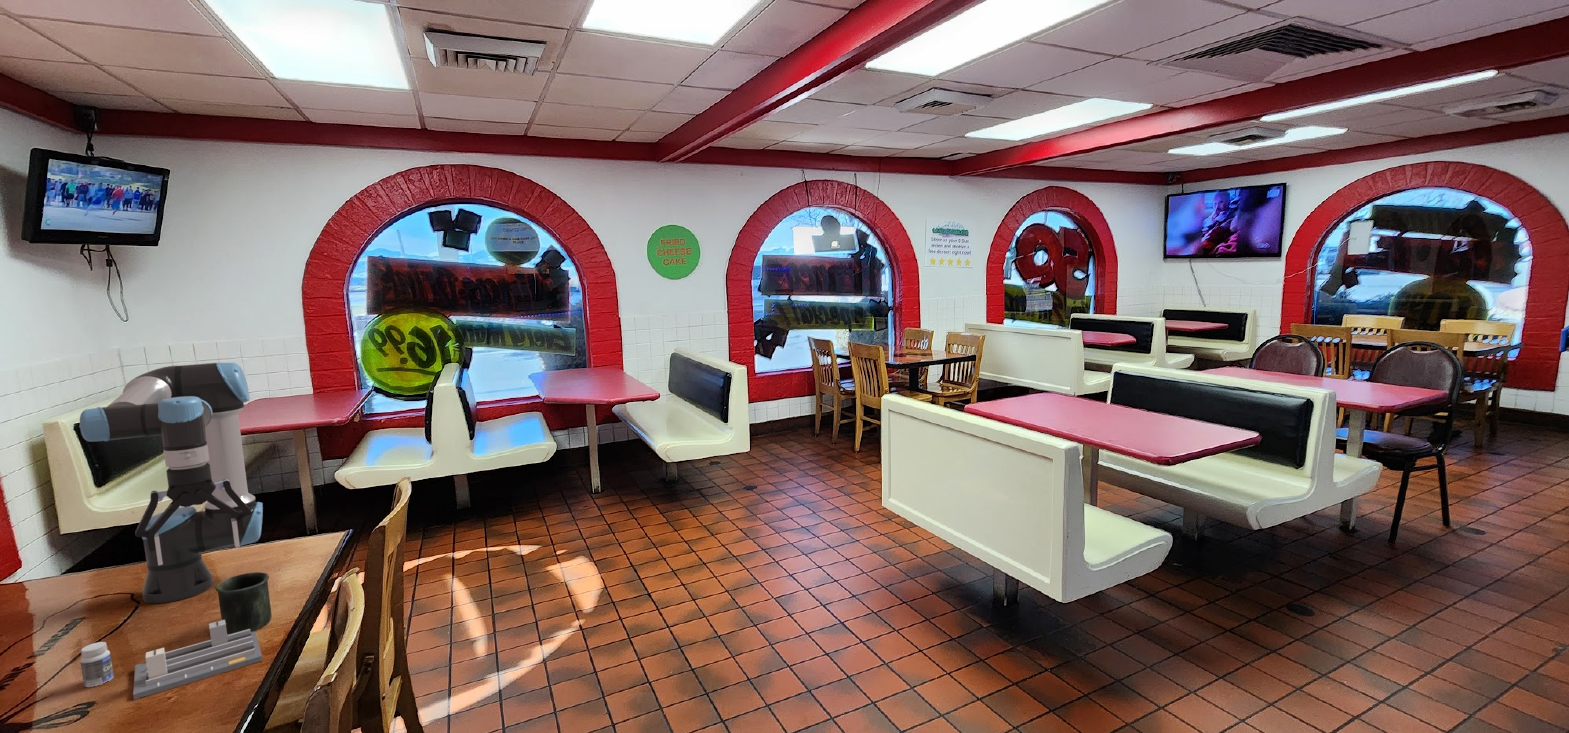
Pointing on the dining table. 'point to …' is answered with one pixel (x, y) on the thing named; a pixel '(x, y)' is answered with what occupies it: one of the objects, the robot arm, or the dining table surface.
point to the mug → (245, 602)
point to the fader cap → (156, 663)
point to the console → (201, 660)
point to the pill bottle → (96, 664)
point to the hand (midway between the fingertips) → (199, 554)
